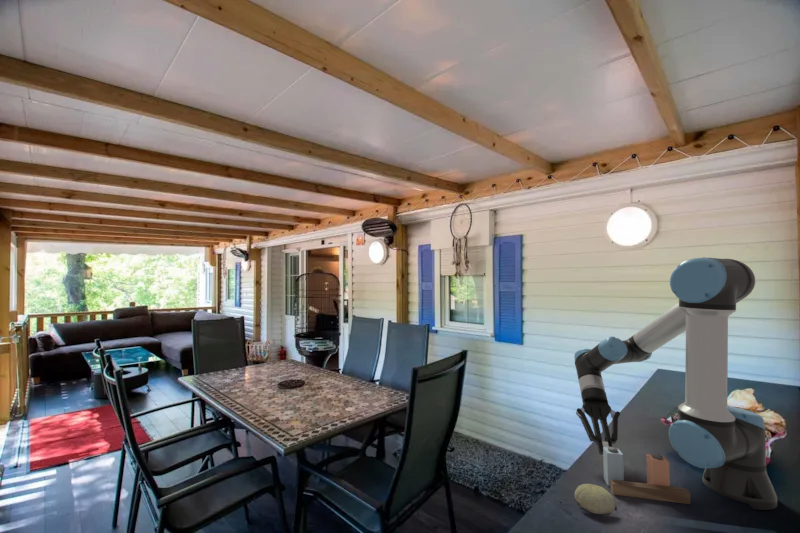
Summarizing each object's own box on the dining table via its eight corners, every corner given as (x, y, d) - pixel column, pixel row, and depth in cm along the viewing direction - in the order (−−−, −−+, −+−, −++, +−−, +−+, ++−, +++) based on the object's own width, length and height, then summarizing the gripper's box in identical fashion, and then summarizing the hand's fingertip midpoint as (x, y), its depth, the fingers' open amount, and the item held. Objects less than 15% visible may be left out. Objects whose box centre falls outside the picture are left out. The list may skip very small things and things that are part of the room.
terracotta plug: (647, 486, 102) (646, 451, 103) (663, 488, 101) (662, 452, 102) (653, 494, 99) (652, 457, 99) (670, 496, 98) (669, 459, 98)
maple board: (596, 469, 114) (596, 456, 114) (662, 477, 110) (662, 463, 110) (612, 499, 99) (612, 483, 99) (690, 509, 94) (690, 493, 94)
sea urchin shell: (575, 484, 103) (598, 470, 99) (598, 512, 99) (622, 498, 96) (566, 498, 96) (590, 483, 92) (590, 530, 92) (616, 515, 88)
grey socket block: (603, 478, 107) (603, 444, 107) (619, 480, 106) (618, 446, 106) (608, 485, 103) (607, 450, 103) (624, 487, 102) (623, 452, 102)
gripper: (612, 399, 125) (631, 473, 108) (570, 396, 128) (582, 468, 111) (616, 387, 120) (637, 463, 103) (573, 384, 124) (586, 458, 107)
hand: (609, 465), depth 107 cm, fingers closed
